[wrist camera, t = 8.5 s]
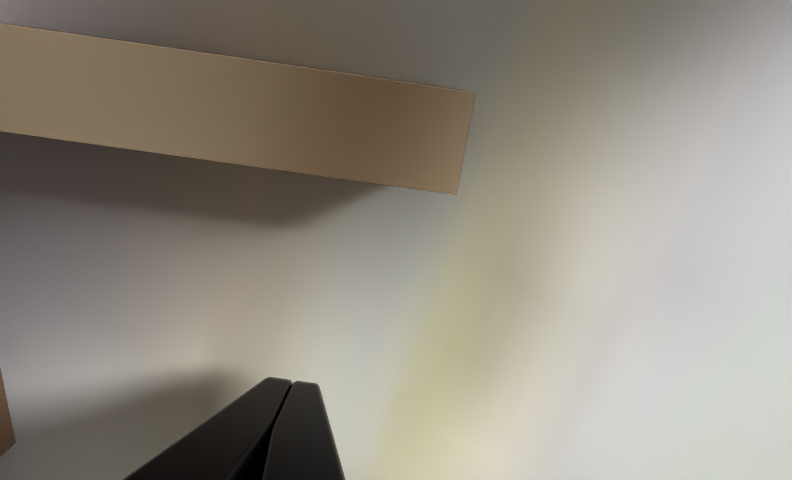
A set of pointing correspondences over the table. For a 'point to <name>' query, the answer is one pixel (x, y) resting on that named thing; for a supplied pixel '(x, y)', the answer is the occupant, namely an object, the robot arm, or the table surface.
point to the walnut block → (5, 422)
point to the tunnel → (232, 109)
